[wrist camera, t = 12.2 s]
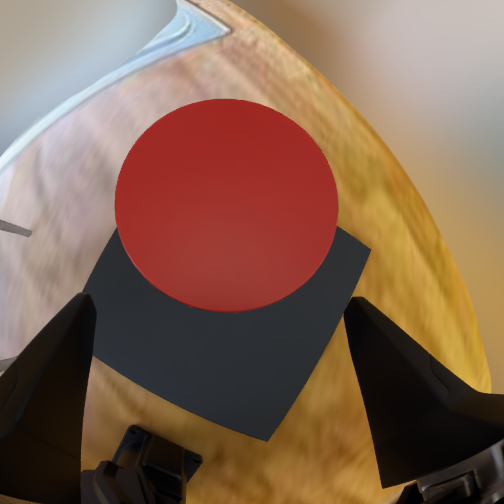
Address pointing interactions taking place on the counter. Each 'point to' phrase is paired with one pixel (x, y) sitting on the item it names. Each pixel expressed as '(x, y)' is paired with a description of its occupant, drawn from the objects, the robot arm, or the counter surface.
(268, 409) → the mat
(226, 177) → the jam lid
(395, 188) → the counter surface
